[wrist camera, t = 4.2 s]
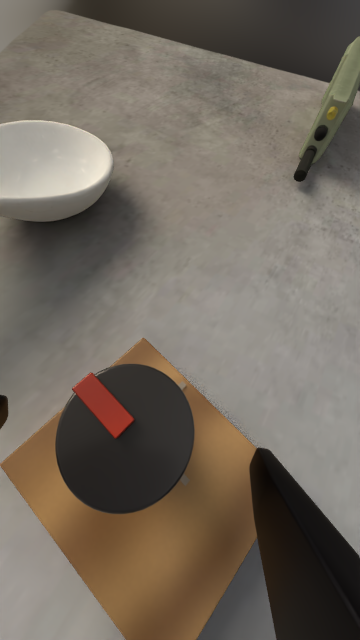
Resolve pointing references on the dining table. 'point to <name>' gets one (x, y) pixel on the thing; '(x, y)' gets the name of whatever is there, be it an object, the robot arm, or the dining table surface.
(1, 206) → the spoon rest
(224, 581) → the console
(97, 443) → the knob
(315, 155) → the handheld radio
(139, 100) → the dining table surface
